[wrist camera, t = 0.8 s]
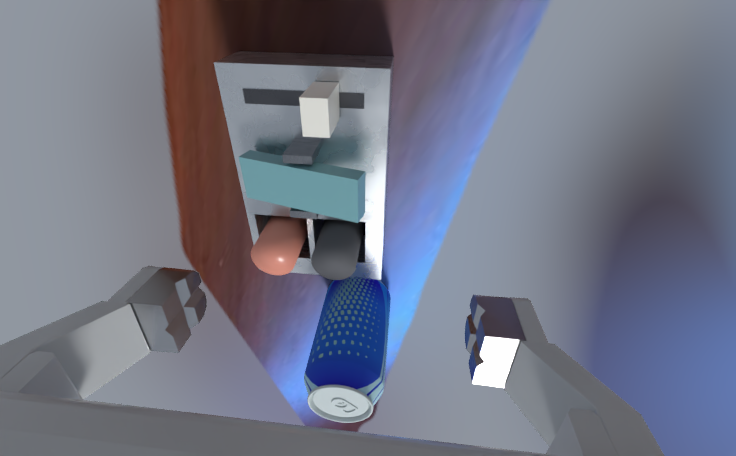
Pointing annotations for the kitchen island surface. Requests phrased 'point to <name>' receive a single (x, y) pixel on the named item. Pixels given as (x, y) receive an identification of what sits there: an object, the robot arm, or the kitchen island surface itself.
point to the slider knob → (320, 109)
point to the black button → (337, 249)
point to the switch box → (285, 138)
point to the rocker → (305, 185)
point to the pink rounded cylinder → (279, 244)
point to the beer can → (349, 350)
